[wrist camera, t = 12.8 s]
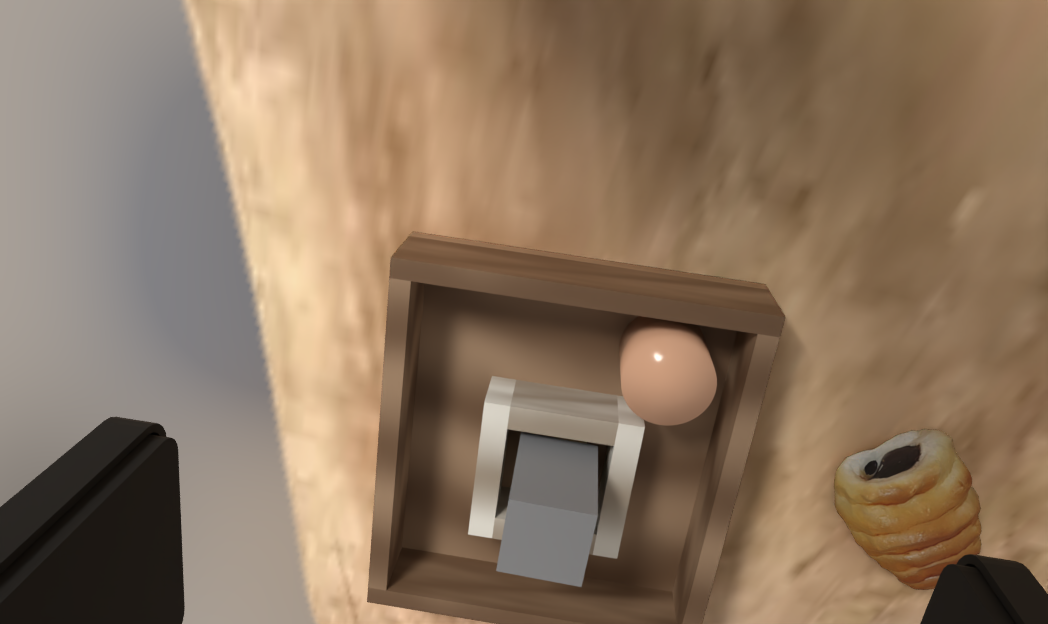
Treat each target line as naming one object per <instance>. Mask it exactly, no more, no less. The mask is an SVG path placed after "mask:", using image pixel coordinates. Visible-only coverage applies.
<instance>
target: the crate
mask: <svg viewBox="0 0 1048 624" xmlns="http://www.w3.org/2000/svg"><path fill="white" fill-rule="evenodd" d="M638 316H643V317H649V318H656V319H662V320H669V321H675V322H682V323H689V324H695V325H698V326H699V327H700V329H701V330H702V333H703V335H704V338H705V341H706V344H707V347H708V350H709V353H710V356H711V359H712V362H713V365H714V368H715V372H716V377H717V387H716V392H715V395H714V398H713V400H712V402H711V403H710V405H709V406H708V408H707V409H706V410H705V411H704V412H703V413H702V414H700V415H699V416H698V417H696V418H695V419H693V420H691V421H688V422H686V423H683V424H679V425H668V426H665V425H658V424H653V423H650V422H648V421H646V420H644V419H642V418H640V417H639V416H637V415H636V414H635V413H634V412H633V411H632V410H631V409H630V408H629V406H628V405H627V403H626V401H625V399H624V397H623V394H622V389H621V375H620V359H619V343H620V339H621V336H622V334H623V332H624V330H625V329H626V327H627V326H628V325H629V324H630V323H631V322H632V321H633V320H634V319H635V318H637V317H638ZM784 321H785V315H784V314H783V312H782V311H781V309H780V307H779V306H778V304H777V302H776V301H775V299H774V297H773V296H772V294H771V293H770V291H769V289H768V288H767V286H766V284H759V283H753V282H746V281H739V280H733V279H726V278H719V277H713V276H706V275H699V274H692V273H686V272H679V271H672V270H666V269H659V268H652V267H646V266H639V265H632V264H626V263H619V262H612V261H606V260H599V259H592V258H586V257H579V256H572V255H566V254H559V253H552V252H546V251H539V250H532V249H526V248H519V247H512V246H506V245H499V244H492V243H486V242H479V241H472V240H466V239H459V238H452V237H446V236H439V235H432V234H426V233H419V232H412V233H411V234H410V235H409V236H408V238H407V239H406V240H405V241H404V242H403V244H402V245H401V246H400V247H399V248H398V250H397V251H396V252H395V253H394V254H393V255H392V257H391V262H390V277H389V292H388V306H387V321H386V335H385V350H384V364H383V379H382V393H381V408H380V422H379V437H378V452H377V466H376V481H375V495H374V510H373V524H372V539H371V553H370V568H369V582H368V597H367V602H370V603H376V604H382V605H388V606H394V607H400V608H406V609H412V610H418V611H424V612H430V613H436V614H442V615H448V616H454V617H460V618H466V619H472V620H478V621H484V622H490V623H496V624H702V622H703V619H704V615H705V611H706V608H707V604H708V600H709V596H710V593H711V589H712V585H713V582H714V578H715V574H716V571H717V567H718V563H719V560H720V556H721V552H722V549H723V545H724V541H725V538H726V534H727V530H728V527H729V523H730V519H731V516H732V512H733V508H734V505H735V501H736V497H737V494H738V490H739V486H740V483H741V479H742V475H743V472H744V468H745V464H746V461H747V457H748V453H749V450H750V446H751V442H752V438H753V435H754V431H755V427H756V424H757V420H758V416H759V413H760V409H761V405H762V402H763V398H764V394H765V391H766V387H767V383H768V380H769V376H770V372H771V369H772V365H773V361H774V358H775V354H776V350H777V347H778V343H779V339H780V336H781V332H782V328H783V325H784ZM521 432H525V433H535V434H541V435H547V436H554V437H560V438H566V439H573V440H579V441H585V442H587V444H591V445H597V446H598V517H597V521H596V526H595V530H594V535H593V539H592V543H591V548H590V552H589V556H588V561H587V565H586V569H585V574H584V578H583V582H582V587H578V586H573V585H567V584H562V583H557V582H551V581H546V580H541V579H535V578H530V577H525V576H519V575H514V574H509V573H503V572H498V571H496V569H497V563H498V558H499V552H500V546H501V541H502V535H503V529H504V524H505V518H506V512H507V507H508V501H509V495H510V490H511V485H512V479H513V474H514V468H515V463H516V457H517V452H518V446H519V441H520V435H521Z"/></svg>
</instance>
